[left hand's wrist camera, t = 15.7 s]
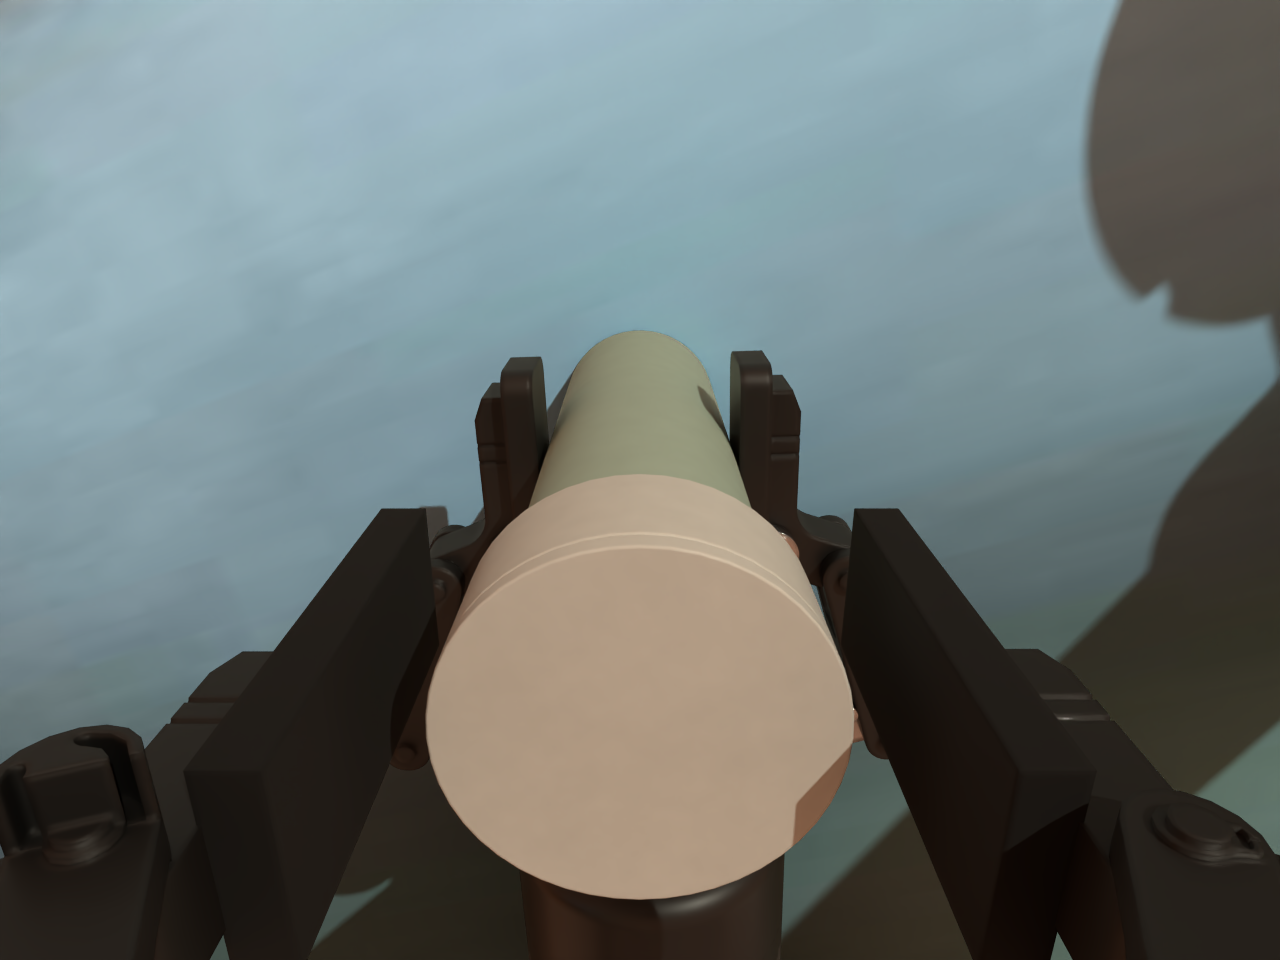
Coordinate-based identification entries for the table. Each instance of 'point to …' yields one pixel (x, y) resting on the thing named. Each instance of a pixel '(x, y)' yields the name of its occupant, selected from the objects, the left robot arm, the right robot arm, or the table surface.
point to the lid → (639, 692)
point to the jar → (639, 419)
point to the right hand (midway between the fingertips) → (634, 364)
